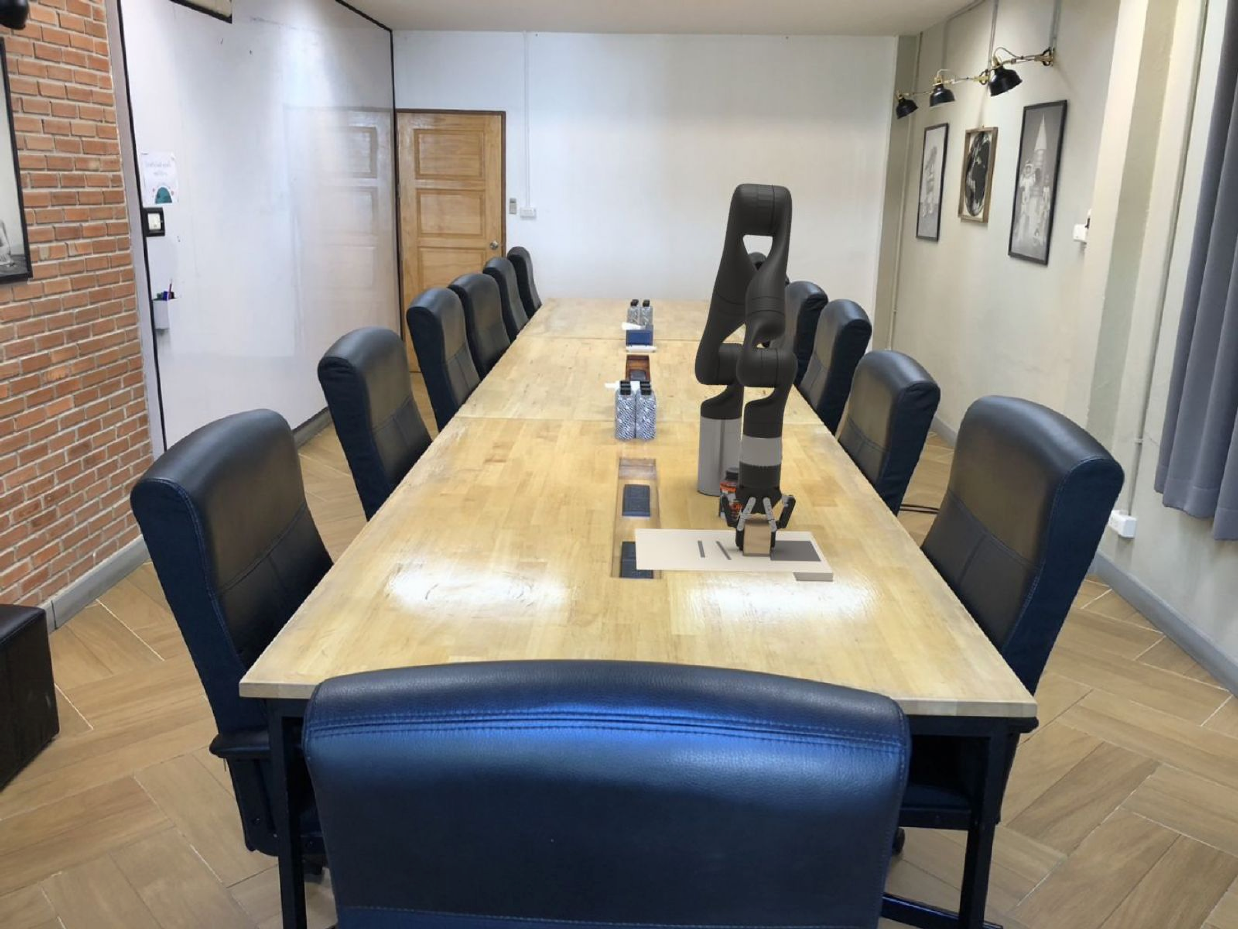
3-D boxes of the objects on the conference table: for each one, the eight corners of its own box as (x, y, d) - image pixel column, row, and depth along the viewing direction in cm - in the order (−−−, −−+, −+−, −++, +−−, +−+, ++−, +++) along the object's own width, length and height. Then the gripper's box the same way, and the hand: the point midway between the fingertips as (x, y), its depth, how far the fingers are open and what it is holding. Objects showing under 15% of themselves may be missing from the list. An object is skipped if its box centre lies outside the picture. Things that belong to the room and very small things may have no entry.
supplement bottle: (724, 528, 203) (727, 474, 200) (713, 519, 208) (716, 466, 205) (752, 526, 204) (755, 472, 201) (741, 517, 210) (743, 464, 207)
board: (634, 535, 198) (635, 528, 197) (809, 539, 198) (810, 531, 197) (636, 577, 176) (636, 569, 176) (832, 581, 177) (833, 572, 176)
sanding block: (740, 543, 190) (741, 515, 189) (764, 543, 190) (766, 515, 189) (744, 556, 183) (746, 527, 182) (769, 556, 183) (771, 527, 182)
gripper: (797, 454, 186) (790, 543, 190) (718, 452, 186) (713, 541, 190) (804, 465, 179) (796, 557, 183) (722, 462, 178) (717, 554, 183)
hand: (754, 548), depth 187 cm, fingers closed on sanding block, 4 cm apart
